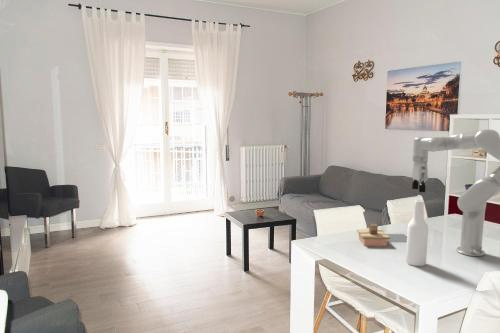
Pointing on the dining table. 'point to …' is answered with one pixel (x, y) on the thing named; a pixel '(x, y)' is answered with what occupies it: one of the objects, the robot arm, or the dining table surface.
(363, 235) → the lid
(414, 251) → the alcohol
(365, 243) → the dish
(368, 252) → the dining table surface
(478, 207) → the robot arm
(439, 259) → the dining table surface
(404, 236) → the mat
